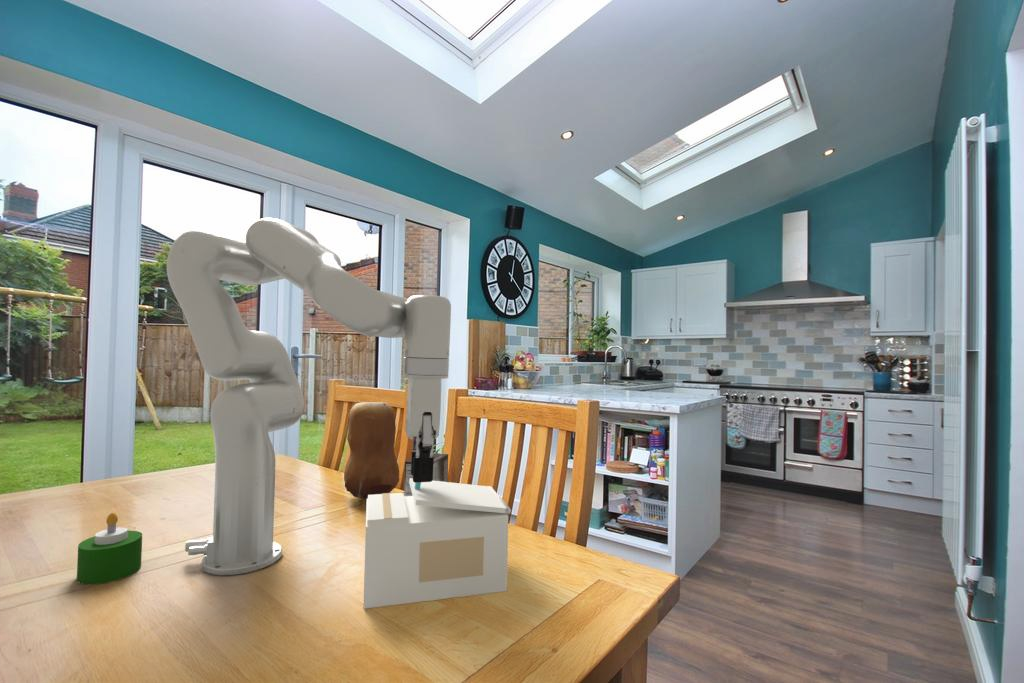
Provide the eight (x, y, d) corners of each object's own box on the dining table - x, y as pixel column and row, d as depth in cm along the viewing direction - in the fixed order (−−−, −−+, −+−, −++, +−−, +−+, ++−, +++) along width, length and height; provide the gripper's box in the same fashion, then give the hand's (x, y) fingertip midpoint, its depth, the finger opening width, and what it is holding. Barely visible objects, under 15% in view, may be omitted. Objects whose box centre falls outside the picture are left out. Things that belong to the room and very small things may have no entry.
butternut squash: (376, 488, 132) (378, 397, 133) (409, 497, 125) (411, 401, 125) (331, 500, 121) (334, 401, 122) (364, 511, 113) (367, 405, 114)
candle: (88, 566, 83) (91, 507, 83) (147, 559, 86) (149, 502, 86) (67, 588, 75) (69, 524, 75) (132, 579, 78) (134, 517, 78)
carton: (363, 609, 71) (365, 521, 71) (364, 567, 84) (366, 493, 85) (506, 591, 77) (508, 510, 77) (486, 555, 90) (488, 486, 91)
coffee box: (419, 525, 105) (421, 451, 106) (447, 528, 104) (449, 453, 104) (402, 541, 96) (404, 460, 97) (432, 544, 95) (434, 463, 95)
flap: (413, 505, 74) (421, 464, 74) (407, 482, 86) (414, 448, 86) (510, 514, 78) (517, 475, 78) (491, 491, 90) (497, 458, 91)
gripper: (400, 366, 88) (396, 467, 87) (406, 370, 72) (401, 494, 71) (441, 367, 90) (437, 465, 89) (456, 372, 74) (451, 491, 73)
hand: (421, 477), depth 80 cm, fingers closed on flap, 3 cm apart
